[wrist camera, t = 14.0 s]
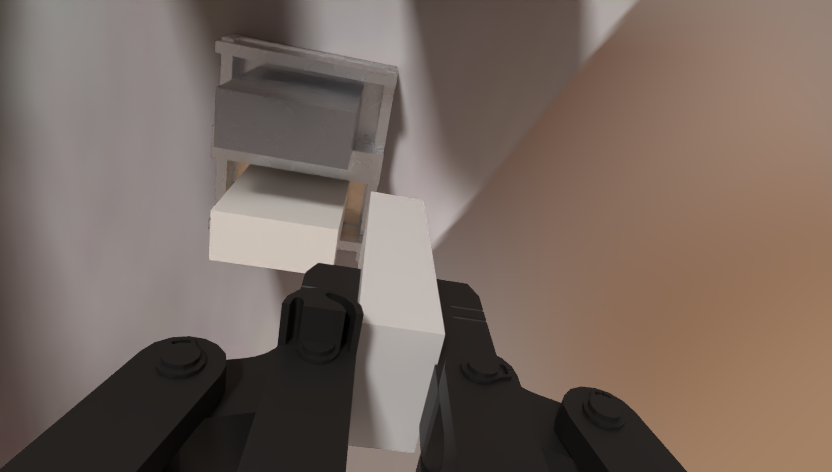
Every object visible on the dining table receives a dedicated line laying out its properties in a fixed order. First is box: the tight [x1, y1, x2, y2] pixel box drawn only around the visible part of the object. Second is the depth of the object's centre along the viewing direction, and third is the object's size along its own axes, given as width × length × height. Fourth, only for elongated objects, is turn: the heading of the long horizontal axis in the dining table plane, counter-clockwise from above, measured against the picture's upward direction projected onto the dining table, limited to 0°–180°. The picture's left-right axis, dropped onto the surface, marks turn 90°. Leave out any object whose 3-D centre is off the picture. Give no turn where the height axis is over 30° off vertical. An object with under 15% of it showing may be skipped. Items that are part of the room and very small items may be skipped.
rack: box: [208, 34, 398, 262], centre depth 38 cm, size 13×16×12 cm
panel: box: [209, 164, 350, 273], centre depth 39 cm, size 8×4×11 cm, turn 79°
